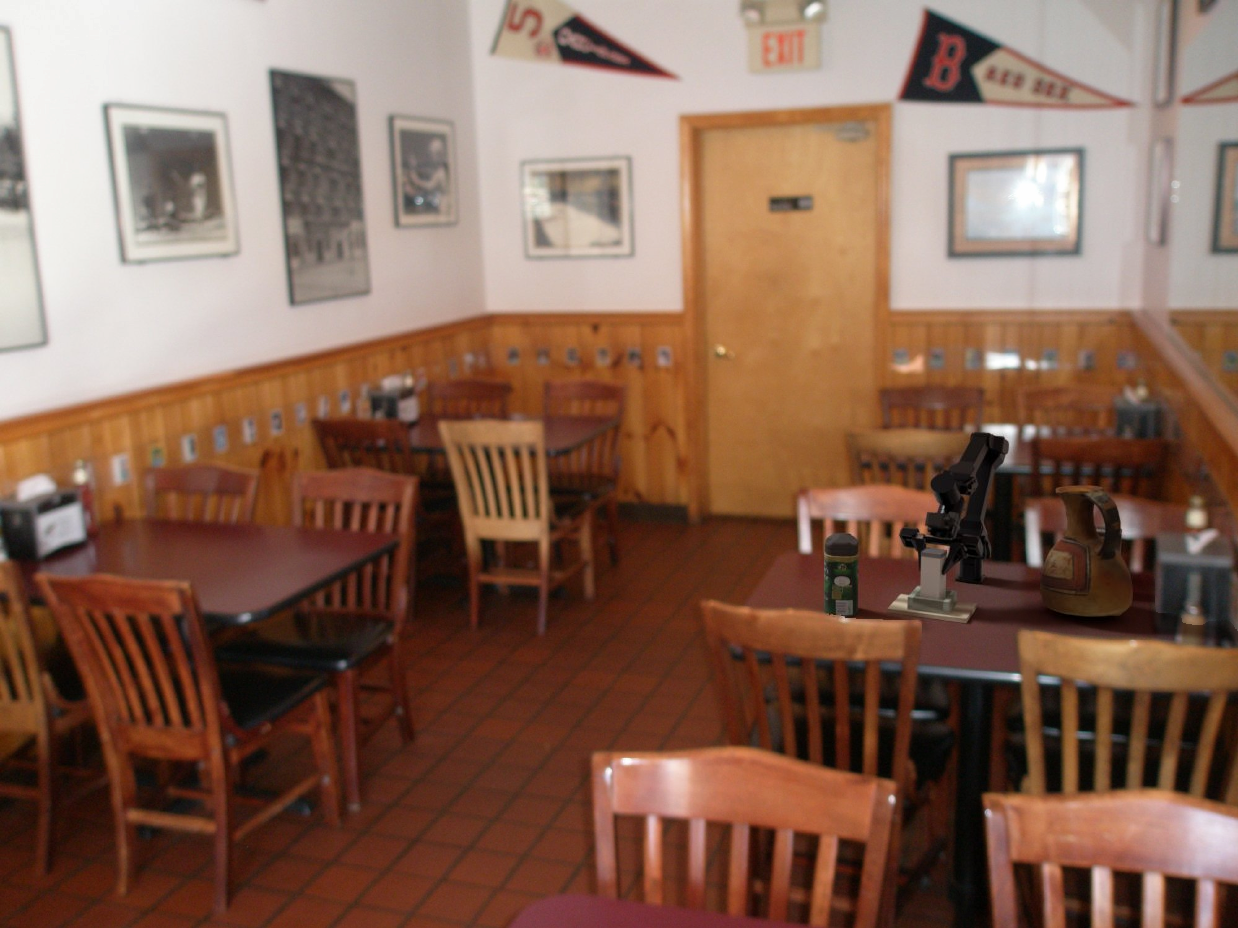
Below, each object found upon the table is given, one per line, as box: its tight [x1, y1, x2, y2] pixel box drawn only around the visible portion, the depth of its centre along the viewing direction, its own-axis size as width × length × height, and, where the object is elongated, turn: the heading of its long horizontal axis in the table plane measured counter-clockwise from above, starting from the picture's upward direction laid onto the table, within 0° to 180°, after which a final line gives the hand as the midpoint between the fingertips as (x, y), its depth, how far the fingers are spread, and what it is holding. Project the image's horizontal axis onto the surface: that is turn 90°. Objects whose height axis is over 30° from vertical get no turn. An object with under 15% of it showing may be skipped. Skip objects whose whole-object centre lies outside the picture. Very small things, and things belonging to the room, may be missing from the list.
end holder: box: [886, 585, 978, 624], centre depth 267 cm, size 12×18×4 cm, turn 62°
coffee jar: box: [823, 532, 860, 618], centre depth 266 cm, size 10×8×19 cm
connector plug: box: [919, 547, 948, 600], centre depth 266 cm, size 5×5×13 cm
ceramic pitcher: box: [1039, 484, 1134, 618], centre depth 260 cm, size 20×20×30 cm
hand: (931, 572), depth 265 cm, fingers open, 5 cm apart
